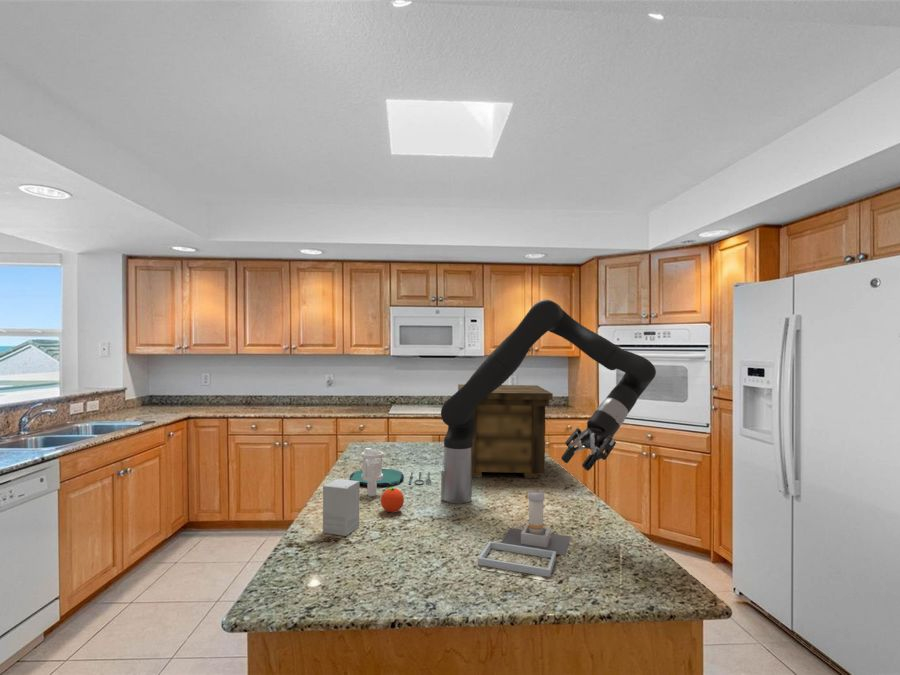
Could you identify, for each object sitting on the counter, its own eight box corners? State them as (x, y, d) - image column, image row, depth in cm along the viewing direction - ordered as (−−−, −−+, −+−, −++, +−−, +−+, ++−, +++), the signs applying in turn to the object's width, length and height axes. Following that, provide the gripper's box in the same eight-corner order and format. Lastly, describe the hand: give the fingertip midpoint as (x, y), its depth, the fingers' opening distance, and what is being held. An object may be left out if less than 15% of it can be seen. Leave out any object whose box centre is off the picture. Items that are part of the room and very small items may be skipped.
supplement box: (360, 527, 133) (360, 480, 133) (345, 537, 126) (346, 488, 126) (336, 523, 136) (337, 478, 136) (321, 533, 129) (322, 485, 129)
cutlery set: (354, 473, 189) (354, 467, 189) (431, 474, 189) (431, 468, 189) (344, 488, 169) (344, 482, 169) (430, 490, 170) (431, 484, 170)
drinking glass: (374, 490, 166) (375, 446, 167) (386, 494, 161) (387, 449, 162) (357, 494, 162) (357, 449, 162) (369, 499, 157) (370, 452, 157)
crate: (457, 458, 215) (458, 384, 215) (536, 459, 215) (537, 385, 215) (457, 480, 180) (458, 392, 180) (551, 481, 180) (552, 393, 180)
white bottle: (526, 542, 121) (526, 494, 121) (529, 536, 125) (529, 489, 125) (542, 544, 120) (543, 496, 120) (545, 538, 124) (545, 491, 124)
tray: (477, 569, 109) (477, 558, 109) (489, 551, 118) (489, 541, 118) (549, 582, 103) (550, 570, 103) (555, 562, 113) (556, 551, 113)
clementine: (373, 510, 146) (373, 487, 146) (391, 505, 151) (391, 482, 151) (390, 517, 141) (391, 493, 141) (408, 511, 146) (408, 488, 146)
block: (499, 549, 119) (499, 534, 119) (509, 532, 131) (509, 518, 131) (565, 560, 114) (565, 544, 114) (570, 541, 125) (570, 526, 125)
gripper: (582, 406, 138) (549, 450, 133) (619, 412, 125) (584, 461, 120) (597, 423, 140) (565, 467, 135) (635, 431, 127) (600, 480, 122)
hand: (574, 464), depth 127 cm, fingers open, 8 cm apart
